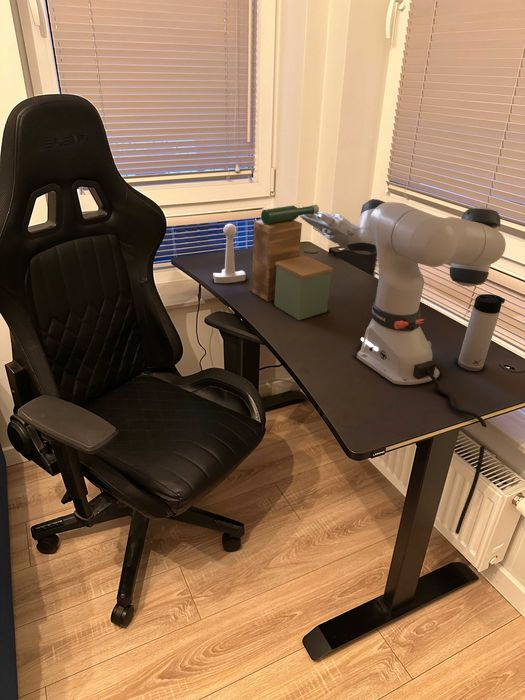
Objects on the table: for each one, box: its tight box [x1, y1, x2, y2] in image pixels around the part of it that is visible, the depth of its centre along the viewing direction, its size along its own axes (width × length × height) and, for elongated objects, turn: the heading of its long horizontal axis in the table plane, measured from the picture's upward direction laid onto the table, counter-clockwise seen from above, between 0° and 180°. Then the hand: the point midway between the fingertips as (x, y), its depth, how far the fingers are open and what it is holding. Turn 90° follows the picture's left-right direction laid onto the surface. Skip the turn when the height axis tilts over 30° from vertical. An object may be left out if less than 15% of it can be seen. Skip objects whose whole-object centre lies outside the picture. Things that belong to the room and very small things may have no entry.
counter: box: [273, 255, 334, 321], centre depth 156 cm, size 13×12×14 cm
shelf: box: [251, 219, 303, 302], centre depth 163 cm, size 9×12×24 cm
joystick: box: [212, 223, 247, 284], centre depth 174 cm, size 11×8×20 cm
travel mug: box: [457, 293, 506, 372], centre depth 128 cm, size 6×7×20 cm
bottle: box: [260, 204, 320, 224], centre depth 159 cm, size 20×4×4 cm, turn 126°
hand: (310, 212), depth 163 cm, fingers open, 8 cm apart
